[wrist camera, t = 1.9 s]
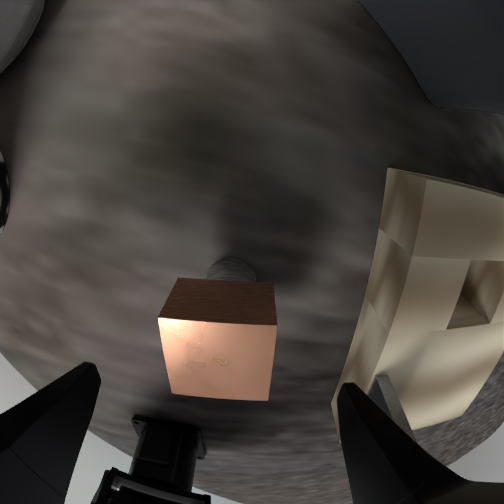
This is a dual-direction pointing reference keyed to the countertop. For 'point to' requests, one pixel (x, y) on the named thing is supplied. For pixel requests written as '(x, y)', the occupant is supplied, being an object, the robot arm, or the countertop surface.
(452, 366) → the block
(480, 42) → the storage bin
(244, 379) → the peg
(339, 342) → the countertop surface
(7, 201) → the white-spotted black cylinder
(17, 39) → the coffee pot
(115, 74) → the countertop surface
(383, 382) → the latch flap
